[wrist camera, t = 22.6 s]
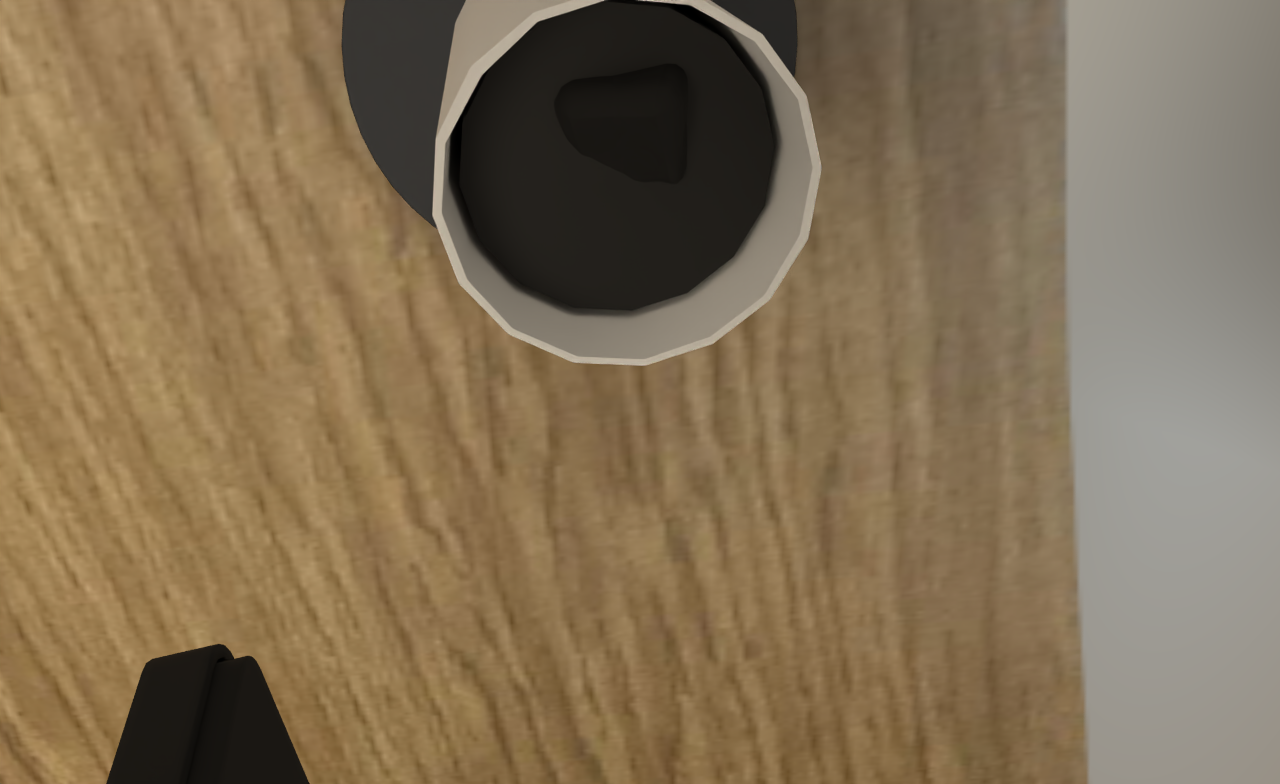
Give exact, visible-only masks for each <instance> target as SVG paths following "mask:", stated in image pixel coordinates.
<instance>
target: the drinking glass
mask: <svg viewBox="0 0 1280 784" xmlns="http://www.w3.org/2000/svg"><path fill="white" fill-rule="evenodd" d="M821 169H822V166H821V161H820V157H819V152H818V147H817V142H816V138H815V133H814V128H813V123H812V119H811V114H810V109H809V104H808V100H807V95H806V94H805V93H804V91H803V90H802V88H801V87H800V86H799V84H798V83H797V82H796V80H795V79H794V77H793V76H792V75H791V73H790V72H789V70H788V69H787V68H786V66H785V65H784V64H783V62H782V61H781V59H780V58H779V57H778V55H777V54H776V52H775V51H774V50H773V48H772V47H771V45H770V44H769V43H768V41H767V40H766V39H765V37H764V36H763V34H761V33H760V32H758V31H757V30H755V29H754V28H752V27H750V26H749V25H747V24H746V23H744V22H743V21H741V20H740V19H738V18H737V17H735V16H734V15H732V14H731V13H729V12H727V11H726V10H724V9H723V8H721V7H720V6H718V5H717V4H715V3H714V2H712V1H711V0H466V1H465V3H464V6H463V8H462V10H461V12H460V14H459V16H458V18H457V20H456V22H455V28H454V34H453V40H452V46H451V52H450V58H449V63H448V69H447V75H446V81H445V87H444V93H443V99H442V105H441V110H440V116H439V122H438V128H437V134H436V143H435V166H434V189H433V212H432V215H433V218H434V221H435V223H436V226H437V228H438V231H439V233H440V236H441V239H442V241H443V244H444V246H445V249H446V252H447V254H448V257H449V259H450V262H451V265H452V267H453V270H454V272H455V275H456V277H457V280H458V283H459V284H460V285H461V286H462V287H463V288H464V289H465V290H466V291H467V292H468V293H469V294H470V295H471V296H472V297H473V298H474V299H475V300H476V301H477V302H478V304H479V305H480V306H481V307H482V308H483V309H484V310H485V311H486V312H487V313H488V314H489V315H490V316H491V317H492V318H493V319H494V320H495V321H496V322H497V323H498V324H499V325H500V326H501V327H502V328H503V329H504V330H505V331H506V332H507V333H508V334H509V335H511V336H513V337H516V338H518V339H520V340H523V341H525V342H527V343H530V344H532V345H534V346H536V347H539V348H541V349H543V350H546V351H548V352H550V353H553V354H555V355H557V356H560V357H562V358H564V359H566V360H569V361H571V362H573V363H594V364H617V365H641V366H645V365H648V364H651V363H655V362H658V361H661V360H664V359H667V358H670V357H673V356H676V355H680V354H683V353H686V352H689V351H692V350H695V349H698V348H702V347H705V346H708V345H711V344H713V343H715V342H716V341H717V340H718V339H720V338H721V337H722V336H724V335H725V334H726V333H728V332H729V331H730V330H731V329H733V328H734V327H735V326H737V325H738V324H739V323H741V322H742V321H743V320H744V319H746V318H747V317H748V316H750V315H751V314H752V313H754V312H755V311H756V310H758V309H759V308H760V307H761V306H763V305H764V304H765V303H767V302H768V301H769V300H770V299H771V297H772V296H773V294H774V292H775V291H776V289H777V288H778V286H779V285H780V283H781V281H782V280H783V278H784V277H785V275H786V273H787V272H788V270H789V269H790V267H791V265H792V264H793V262H794V261H795V259H796V258H797V256H798V254H799V253H800V251H801V250H802V248H803V246H804V245H805V243H806V242H807V240H808V237H809V232H810V227H811V221H812V216H813V211H814V206H815V201H816V195H817V190H818V185H819V180H820V174H821Z"/></svg>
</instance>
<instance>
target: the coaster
mask: <svg viewBox="0 0 1280 784" xmlns="http://www.w3.org/2000/svg"><path fill="white" fill-rule="evenodd" d="M465 1H466V0H346V1H345V6H344V12H343V27H342V55H343V67H344V77H345V82H346V86H347V91H348V95H349V100H350V104H351V108H352V111H353V113H354V116H355V119H356V122H357V124H358V127H359V130H360V133H361V135H362V137H363V139H364V141H365V143H366V145H367V147H368V149H369V151H370V153H371V155H372V157H373V158H374V160H375V162H376V163H377V165H378V166H379V168H380V169H381V171H382V172H383V174H384V175H385V177H386V178H387V179H388V181H389V182H390V184H391V185H392V186H393V187H394V189H395V190H396V191H397V192H398V193H399V194H400V195H401V196H402V198H403V199H404V200H405V201H406V202H407V203H408V204H409V205H410V206H411V207H412V208H413V209H414V210H415V211H416V212H417V213H419V214H420V215H421V216H422V217H423V218H424V219H425V220H427V221H428V222H429V223H430V224H431V225H432V226H434V227H435V228H437V226H436V223H435V221H434V218H433V215H432V212H433V189H434V166H435V143H436V134H437V128H438V122H439V116H440V110H441V105H442V99H443V93H444V87H445V81H446V75H447V69H448V63H449V58H450V52H451V46H452V40H453V34H454V28H455V22H456V20H457V18H458V16H459V14H460V12H461V10H462V8H463V6H464V3H465ZM711 1H712V2H714V3H715V4H717V5H718V6H720V7H721V8H723V9H724V10H726V11H727V12H729V13H731V14H732V15H734V16H735V17H737V18H738V19H740V20H741V21H743V22H744V23H746V24H747V25H749V26H750V27H752V28H754V29H755V30H757V31H758V32H760V33H761V34H763V36H764V37H765V39H766V40H767V41H768V43H769V44H770V45H771V47H772V48H773V50H774V51H775V52H776V54H777V55H778V57H779V58H780V59H781V61H782V62H783V64H784V65H785V66H786V68H787V69H788V70H789V72H790V73H791V75H792V76H793V77H794V75H795V66H796V54H797V20H796V9H795V3H794V0H711ZM437 229H438V228H437Z"/></svg>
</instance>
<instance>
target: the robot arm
mask: <svg viewBox="0 0 1280 784" xmlns="http://www.w3.org/2000/svg"><path fill="white" fill-rule="evenodd" d="M106 784H309V782H308V780H307V777H306V775H305V772H304V770H303V768H302V765H301V763H300V761H299V758H298V756H297V754H296V751H295V749H294V747H293V744H292V742H291V740H290V737H289V735H288V732H287V730H286V728H285V725H284V723H283V721H282V718H281V716H280V714H279V711H278V709H277V707H276V704H275V702H274V700H273V697H272V695H271V692H270V690H269V688H268V685H267V683H266V681H265V678H264V676H263V674H262V671H261V669H260V667H259V665H258V663H257V661H256V660H255V659H254V658H253V657H251V656H245V657H241V658H236V659H234V657H233V655H232V653H231V652H230V651H229V649H228V648H227V647H226V646H225V645H221V644H216V645H212V646H207V647H203V648H198V649H194V650H190V651H185V652H181V653H177V654H172V655H168V656H163V657H159V658H155V659H152V660H150V661H149V662H147V663H146V665H145V667H144V669H143V671H142V674H141V677H140V680H139V683H138V686H137V689H136V693H135V696H134V699H133V702H132V705H131V708H130V711H129V714H128V718H127V721H126V724H125V727H124V730H123V733H122V736H121V740H120V743H119V746H118V749H117V752H116V755H115V758H114V761H113V765H112V768H111V771H110V774H109V777H108V780H107V783H106Z"/></svg>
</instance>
